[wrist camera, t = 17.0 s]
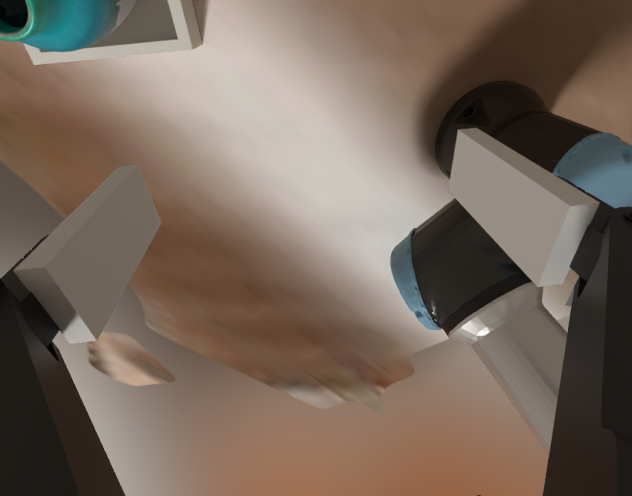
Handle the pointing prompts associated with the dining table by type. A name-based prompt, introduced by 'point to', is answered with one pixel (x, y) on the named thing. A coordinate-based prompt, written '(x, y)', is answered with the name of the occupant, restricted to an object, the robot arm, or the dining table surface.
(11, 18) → the vase
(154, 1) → the pusher lane
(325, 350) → the dining table surface
